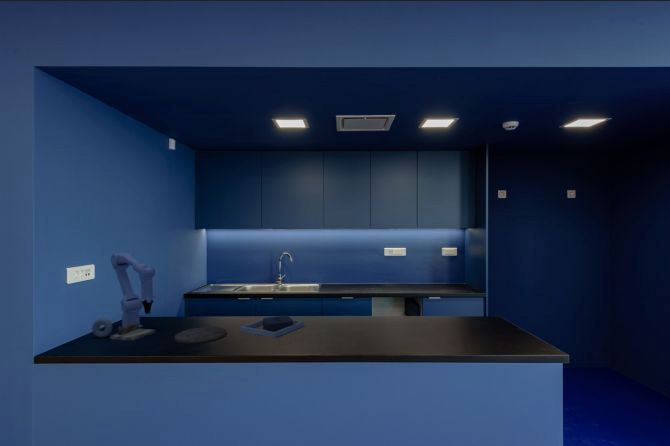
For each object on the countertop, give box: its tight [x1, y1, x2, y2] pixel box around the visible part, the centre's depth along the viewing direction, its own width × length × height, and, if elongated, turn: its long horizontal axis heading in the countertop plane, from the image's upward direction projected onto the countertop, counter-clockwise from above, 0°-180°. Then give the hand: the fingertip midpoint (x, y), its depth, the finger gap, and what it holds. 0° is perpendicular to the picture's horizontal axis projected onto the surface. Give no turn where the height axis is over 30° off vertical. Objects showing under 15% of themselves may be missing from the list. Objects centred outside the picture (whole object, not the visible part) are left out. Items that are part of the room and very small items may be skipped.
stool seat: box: [109, 324, 157, 342], centre depth 198 cm, size 15×15×4 cm
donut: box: [91, 317, 113, 338], centre depth 197 cm, size 10×4×10 cm, turn 93°
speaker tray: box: [240, 319, 305, 339], centre depth 205 cm, size 24×24×2 cm
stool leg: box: [117, 322, 140, 335], centre depth 200 cm, size 12×3×4 cm, turn 164°
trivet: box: [174, 326, 227, 345], centre depth 194 cm, size 25×25×2 cm
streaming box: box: [262, 315, 294, 332], centre depth 205 cm, size 14×14×5 cm
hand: (147, 313), depth 207 cm, fingers closed
